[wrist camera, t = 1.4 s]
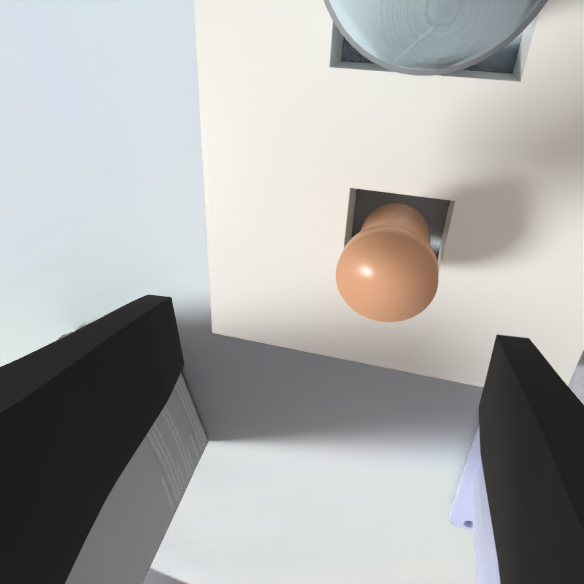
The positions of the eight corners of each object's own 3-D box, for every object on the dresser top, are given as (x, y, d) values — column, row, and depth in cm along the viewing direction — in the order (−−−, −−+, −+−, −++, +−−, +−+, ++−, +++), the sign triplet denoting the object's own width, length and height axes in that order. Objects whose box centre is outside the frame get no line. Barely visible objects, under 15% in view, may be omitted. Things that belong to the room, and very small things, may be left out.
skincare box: (68, 326, 26) (-313, 650, 13) (184, 326, 24) (-136, 717, 11) (121, 440, 30) (-131, 778, 17) (224, 449, 28) (27, 847, 15)
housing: (879, -428, 9) (972, -522, 8) (550, 369, 20) (560, 402, 18) (208, -352, 12) (170, -409, 11) (229, 309, 23) (212, 333, 21)
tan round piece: (447, 200, 16) (448, 240, 13) (430, 279, 17) (427, 330, 15) (357, 189, 17) (340, 225, 14) (348, 266, 18) (331, 312, 15)
